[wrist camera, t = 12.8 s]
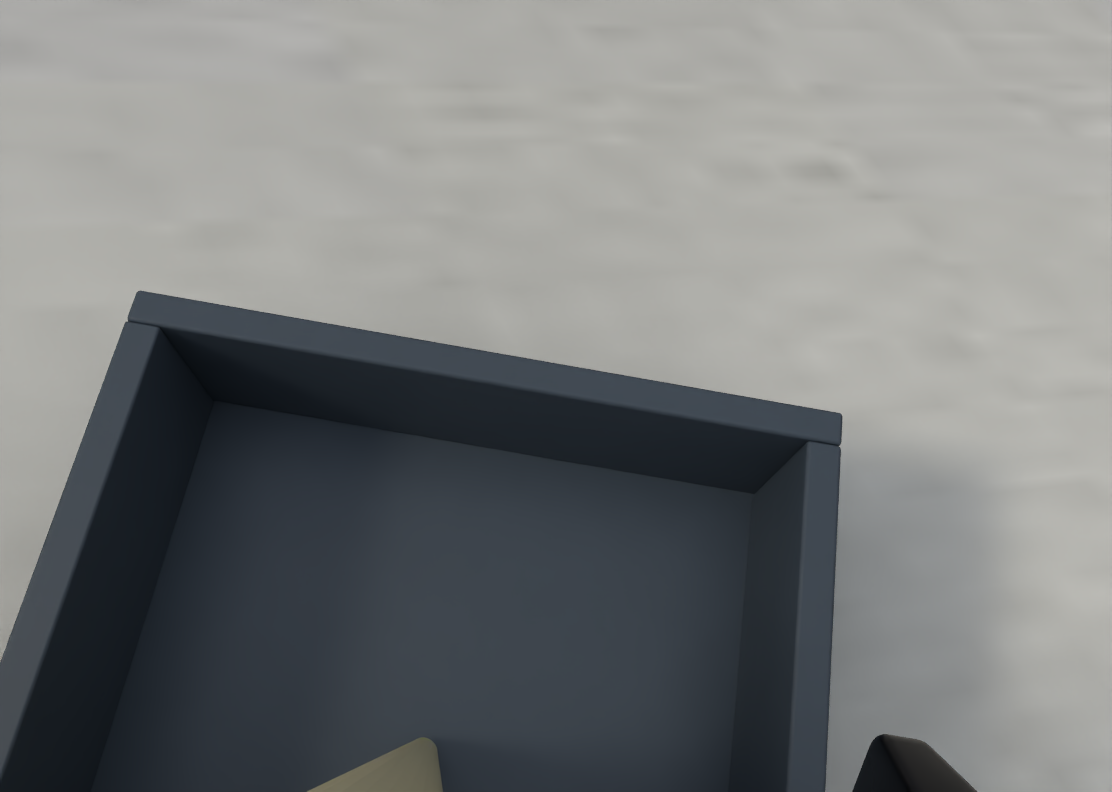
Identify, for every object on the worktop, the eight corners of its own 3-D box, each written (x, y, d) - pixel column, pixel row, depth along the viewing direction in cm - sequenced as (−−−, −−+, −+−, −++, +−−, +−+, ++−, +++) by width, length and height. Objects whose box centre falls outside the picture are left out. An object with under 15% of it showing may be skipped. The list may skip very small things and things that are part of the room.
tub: (724, 1193, 15) (802, 1328, 12) (-25, 1069, 15) (-188, 1167, 11) (775, 478, 20) (843, 412, 16) (201, 378, 20) (136, 288, 16)
